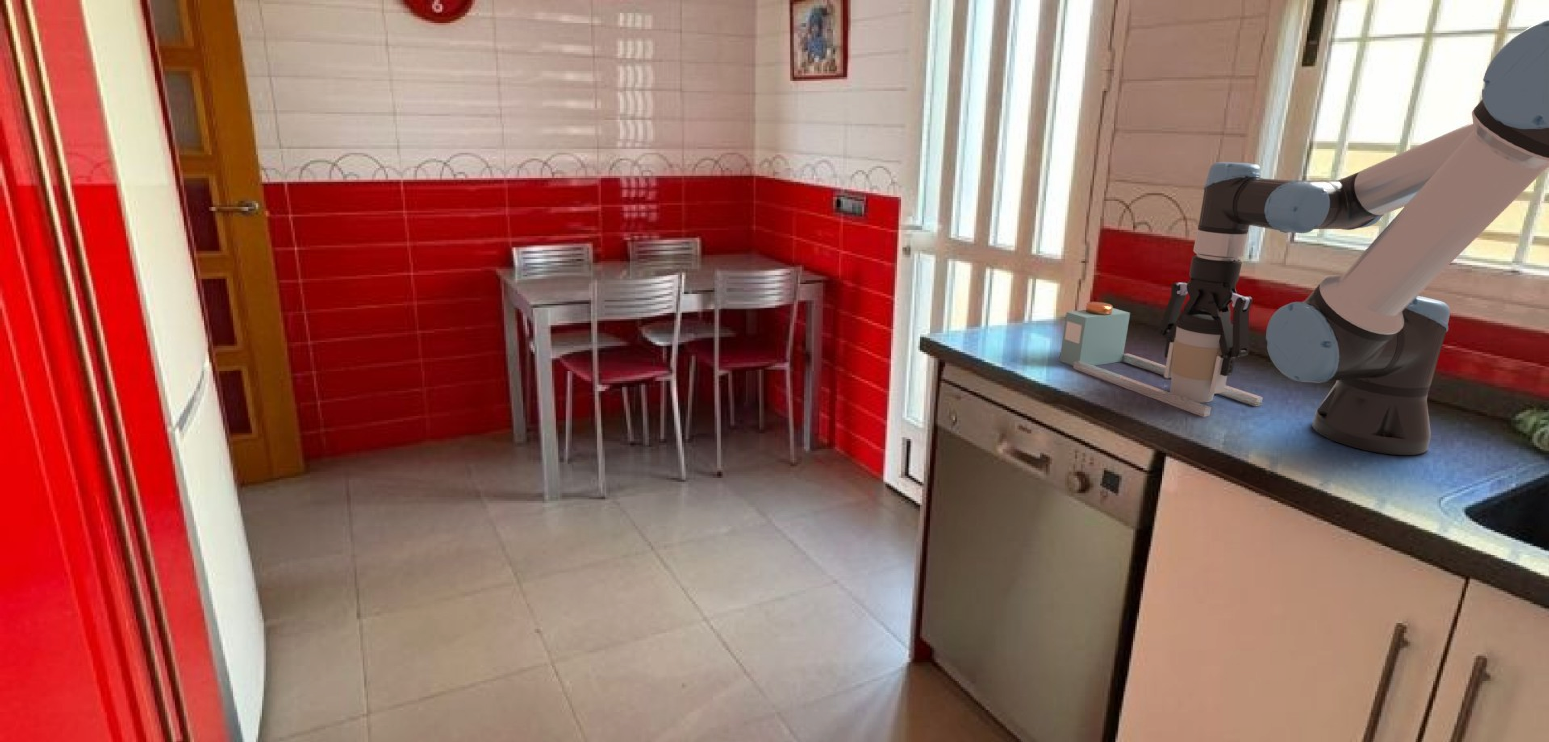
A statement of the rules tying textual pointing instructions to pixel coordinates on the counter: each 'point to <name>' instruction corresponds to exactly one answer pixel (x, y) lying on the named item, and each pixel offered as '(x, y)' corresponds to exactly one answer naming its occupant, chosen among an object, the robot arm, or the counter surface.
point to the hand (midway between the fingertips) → (1193, 384)
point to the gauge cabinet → (1094, 337)
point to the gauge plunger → (1099, 308)
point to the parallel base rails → (1158, 393)
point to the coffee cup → (1195, 356)
